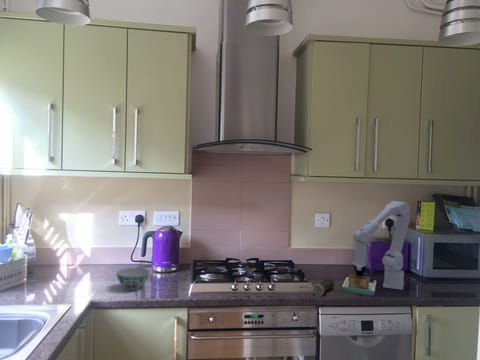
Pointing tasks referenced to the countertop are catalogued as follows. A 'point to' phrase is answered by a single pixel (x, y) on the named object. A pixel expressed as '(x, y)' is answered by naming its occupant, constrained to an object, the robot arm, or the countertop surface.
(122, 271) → the chinaware
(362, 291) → the tray
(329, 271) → the countertop surface
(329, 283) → the flashlight
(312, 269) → the countertop surface
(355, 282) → the crate
